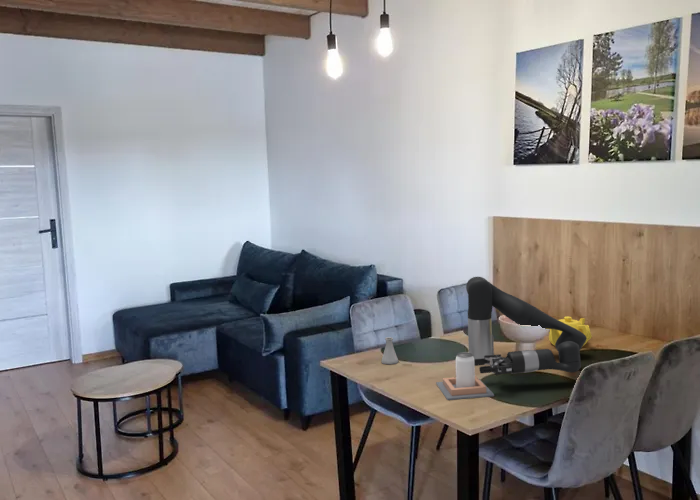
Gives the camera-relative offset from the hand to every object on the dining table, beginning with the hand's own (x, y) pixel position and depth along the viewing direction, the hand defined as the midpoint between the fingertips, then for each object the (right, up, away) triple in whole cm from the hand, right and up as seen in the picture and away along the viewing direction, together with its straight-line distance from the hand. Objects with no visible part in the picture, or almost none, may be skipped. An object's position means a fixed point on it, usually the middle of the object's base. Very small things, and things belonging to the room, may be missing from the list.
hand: (476, 366), depth 210 cm
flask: (-28, -5, +36) cm, 45 cm away
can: (-4, -8, +1) cm, 9 cm away
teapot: (+49, 0, +48) cm, 69 cm away
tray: (-4, -8, +1) cm, 9 cm away
